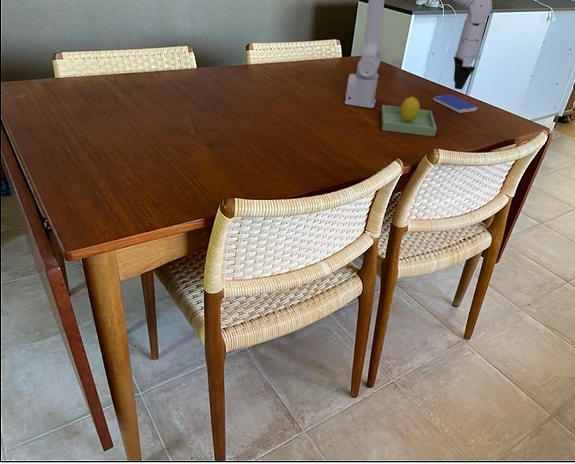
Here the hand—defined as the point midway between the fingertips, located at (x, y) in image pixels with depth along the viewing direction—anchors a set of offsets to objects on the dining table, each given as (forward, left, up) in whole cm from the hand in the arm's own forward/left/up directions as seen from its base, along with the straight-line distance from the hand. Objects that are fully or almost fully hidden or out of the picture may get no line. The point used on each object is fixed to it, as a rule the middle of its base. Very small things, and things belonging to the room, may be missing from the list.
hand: (457, 85), depth 144 cm
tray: (-13, -12, -10) cm, 21 cm away
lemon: (-13, -12, -10) cm, 20 cm away
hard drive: (+2, +12, -10) cm, 16 cm away
